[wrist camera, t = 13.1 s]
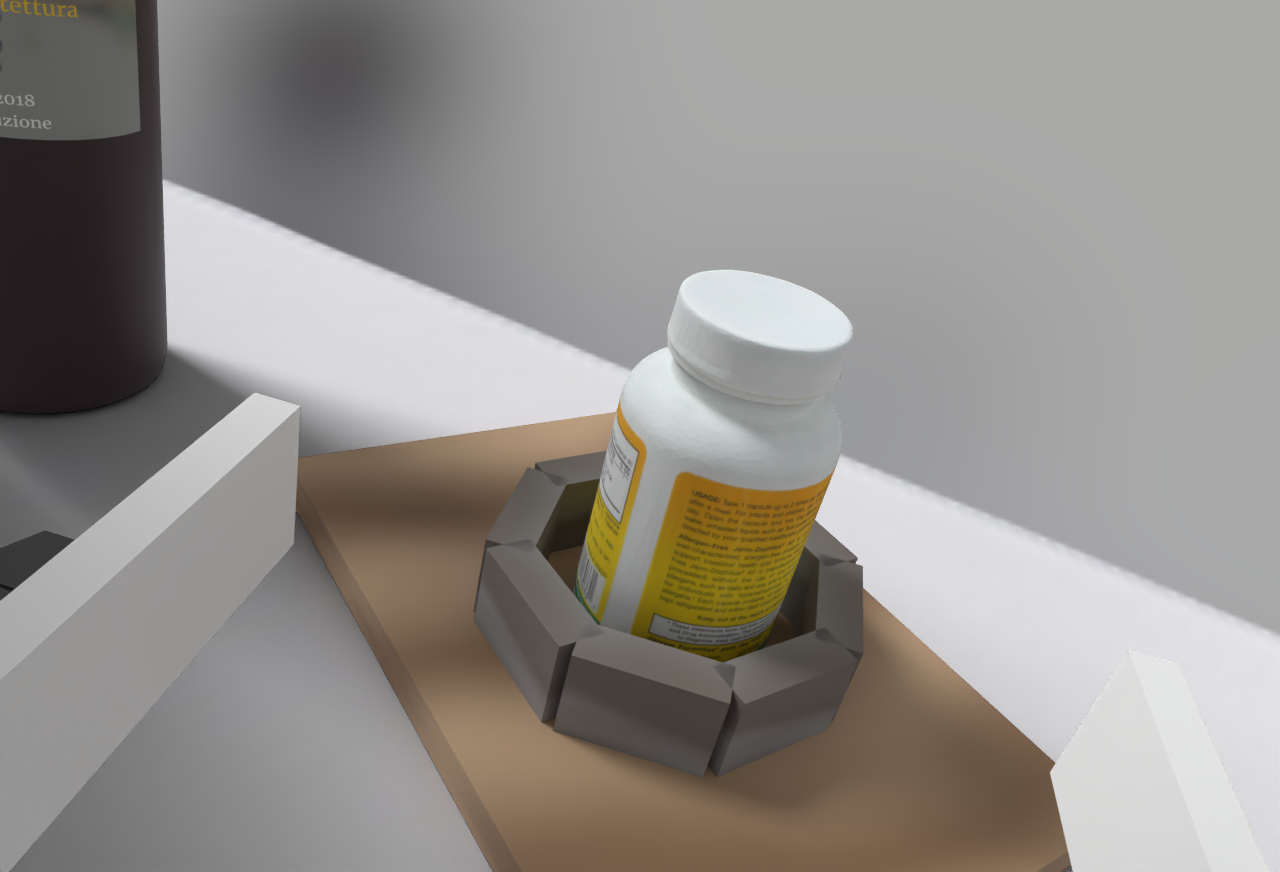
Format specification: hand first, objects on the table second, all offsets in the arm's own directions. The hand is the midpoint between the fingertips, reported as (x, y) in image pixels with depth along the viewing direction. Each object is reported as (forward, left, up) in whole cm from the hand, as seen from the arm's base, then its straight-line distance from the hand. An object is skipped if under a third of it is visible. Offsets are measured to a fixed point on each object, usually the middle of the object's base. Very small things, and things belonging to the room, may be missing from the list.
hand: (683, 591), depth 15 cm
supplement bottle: (-6, +6, -8) cm, 12 cm away
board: (-6, +6, -9) cm, 12 cm away
